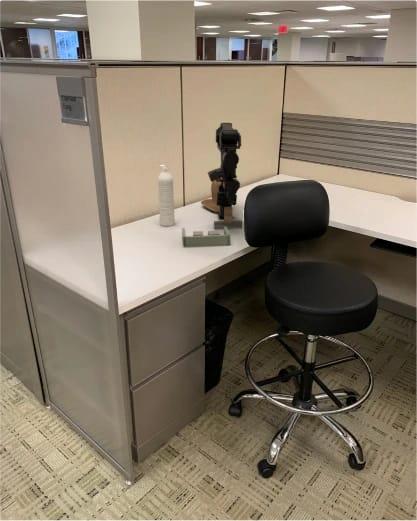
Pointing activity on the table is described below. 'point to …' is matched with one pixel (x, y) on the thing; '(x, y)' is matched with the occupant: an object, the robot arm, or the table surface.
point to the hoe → (228, 221)
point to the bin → (206, 239)
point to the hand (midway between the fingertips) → (228, 199)
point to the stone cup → (212, 202)
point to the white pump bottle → (166, 197)
